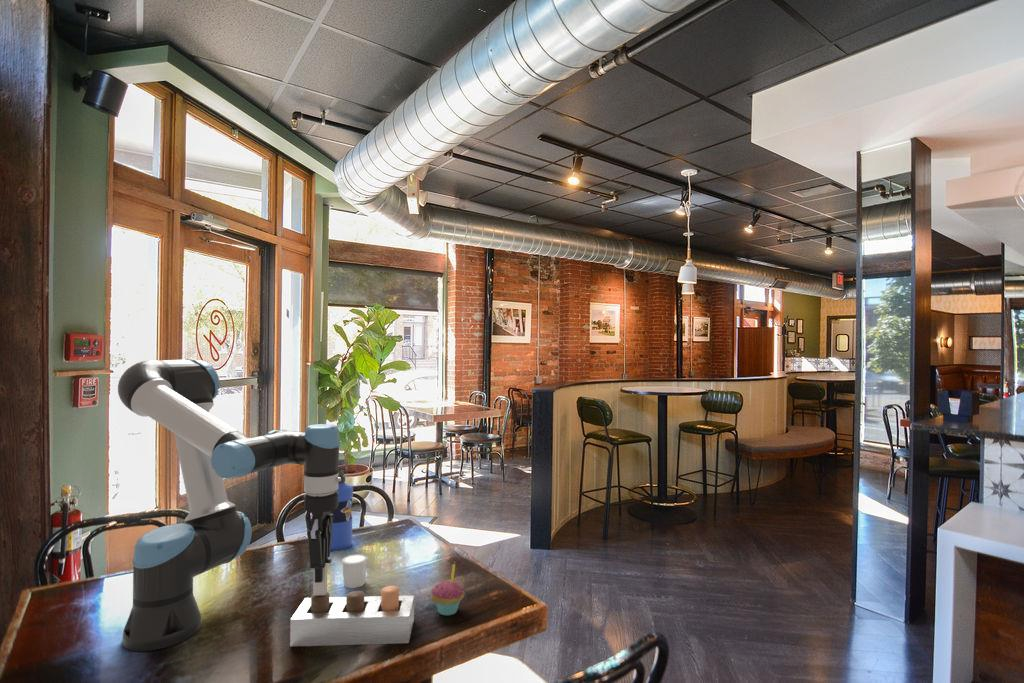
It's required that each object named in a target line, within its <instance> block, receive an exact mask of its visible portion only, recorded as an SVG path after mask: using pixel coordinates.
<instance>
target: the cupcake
mask: <svg viewBox="0 0 1024 683" xmlns="http://www.w3.org/2000/svg"><path fill="white" fill-rule="evenodd" d="M455 569H456V561H454V562H453V564H452V568H451V575H450V580H447V579H446V580H443V581H440V582H439V583H436V584H435V585H434V586H433V587H432V588H431V592H430V593H431V594H430V599H431V601H432V602H434V603H435V605H436V609H437V612H438V613H439V615H442V616H452V615H455V614H456V613H457V612H458V609H459V605H460V603H461V600H463V599H464V598H465V595H466V594H465V587H464V586H463V585H462V584H461V583H460V582H458V581H454V577H455V571H456V570H455Z"/></svg>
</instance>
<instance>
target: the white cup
mask: <svg viewBox="0 0 1024 683" xmlns="http://www.w3.org/2000/svg"><path fill="white" fill-rule="evenodd" d="M341 561H342V562H341V564H342V576H343V586H344V587H345V588H347V589H354V588H360V587H362V586H363V585H364V584H366V576H367V575H366V574H367V567H368V566H367V564H368V556H366V554H362V553H361V554H351V555H347V556H344V557H343V558H342V560H341Z"/></svg>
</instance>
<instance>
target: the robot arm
mask: <svg viewBox="0 0 1024 683" xmlns="http://www.w3.org/2000/svg"><path fill="white" fill-rule="evenodd" d="M220 385H221V384H220V378H219V375H218V373H217V370H216V369H215V368H214V367H213V365H211V364H210V363H208V362H206V361H205V360H201V359H192V358H191V359H190V358H185V359H166V360H165V359H163V360H162V359H161V360H160V359H158V360H157V359H154V360H152V359H149V360H144V361H143V360H142V361H139V362H136V363H135V364H133V365H131V366H130V367H128V368H127V369H126V370H125V371H124V372H123V374H122V375H121V376H120V377H119V381H118V384H117V393H118V397H119V399H120V402H121V403H122V404H123V405H124V406H125V407H126V408H127V409H128V410H130V411H131V412H133V413H135V415H137V416H140V417H149V418H151V419H152V420H153V421H155V422H157V423H158V424H160V425H161V426H163V427H164V428H166V429H167V430H169V431H170V432H172V433H173V435H174V439H175V440H174V441H175V446H176V450H177V454H178V460H179V464H180V468H181V469H180V470H181V474H182V479H183V484H184V489H185V494H186V498H187V504H188V508H189V513H188V514H187V516H186V517H185V519H184V523H173V524H170V525H163V526H160V527H157V528H154V529H152V530H150V531H147V532H146V533H144V534H143V535H141V536H140V537H139V538H138V539H137V541H136V542H135V545H134V547H133V548H134V549H133V556H132V562H131V563H132V566H133V567H132V569H133V570H132V574H133V576H132V607H131V610H130V612H129V616H128V618H127V621H126V623H125V626H124V628H123V631H122V646H123V647H124V649H126V650H128V651H133V652H150V651H156V650H157V649H158V650H162V649H165V648H169V647H171V646H174V645H177V644H180V643H182V642H183V641H186V640H189V638H191V637H192V636H194V635H195V634H196V633H198V631H199V630H200V629H201V626H202V614H201V611H200V609H199V605H198V603H197V600H196V598H195V596H194V578H196V577H197V576H199V575H201V574H203V573H206V572H208V571H211V570H212V569H215V568H217V567H219V566H222V565H224V564H228V563H231V562H232V561H233V560H235V559H236V558H239V557H240V556H242V555H243V554H244V553H245V552H246V550H247V549H248V546H249V545H250V544H251V539H252V524H251V521H250V520H249V517H248V516H246V514H245V513H243V512H242V511H238V510H237V505H236V504H235V503H233V502H231V501H230V500H229V499H228V494H227V490H226V486H225V485H226V484H225V481H224V479H233V478H241V477H244V476H246V475H250V474H253V473H258V472H260V471H261V472H262V471H265V470H268V469H272V468H275V467H279V466H283V465H287V464H288V465H289V464H292V465H300V466H301V465H303V466H304V478H303V479H304V482H303V492H304V493H305V494H304V495H303V509H304V511H305V512H307V513H310V514H312V515H311V518H310V519H309V520H310V521H309V526H310V530H309V529H308V530H307V532H306V536H307V540H308V549H309V550H308V553H309V567H308V568H309V569H313V573H312V574H313V577H312V578H313V582H312V583H313V585H312V595H326V593H327V592H328V564H331V562H332V559H330V556H331V551H330V549H331V535H332V523H333V517H334V515H333V514H330V511H333V510H335V509H336V508H337V507H338V494H339V493H338V492H337V491H336V490H337V489H338V482H339V481H341V478H340V477H338V475H339V474H338V472H339V470H340V469H339V460H340V458H339V457H340V446H341V441H340V432H339V431H340V430H339V427H338V426H337V425H335V424H330V423H329V424H328V423H318V424H310V425H307V427H306V428H305V431H303V432H302V431H293V430H287V429H276V430H275V429H273V430H270V431H268V432H267V433H266V434H265V435H260V436H255V437H254V436H253V437H249V436H247V435H245V434H244V433H242V432H240V431H239V430H238V429H236V428H234V427H233V426H232V425H230V424H228V423H226V422H225V421H223V420H221V419H220V418H218V417H217V416H215V415H213V414H211V413H210V410H211V409H212V408H213V406H214V404H215V403H214V399H215V398H216V397H217V396H218V394H219V392H220V391H219V390H220V387H221V386H220ZM161 648H162V649H161Z"/></svg>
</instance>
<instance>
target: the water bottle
mask: <svg viewBox="0 0 1024 683" xmlns="http://www.w3.org/2000/svg"><path fill="white" fill-rule="evenodd" d="M338 474H339V475H338V477H340V478H341V481H339V482H338V489H337V490H336V491H337V492H338V493H339V494H338V507H337V508H336V509H335V510H333V511H330V514H333V515H334V517H333V523H332V535H331V549H330V552H331V551H333V552H334V551H342V550H346V549H348V548H350V547H352V545H353V515H352V506H353V505H352V504H353V498H354V486H352V485H350V484H347V483H346V476H345V475H346V473H345V472H344V471H343V470H342V469H339V472H338Z"/></svg>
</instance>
